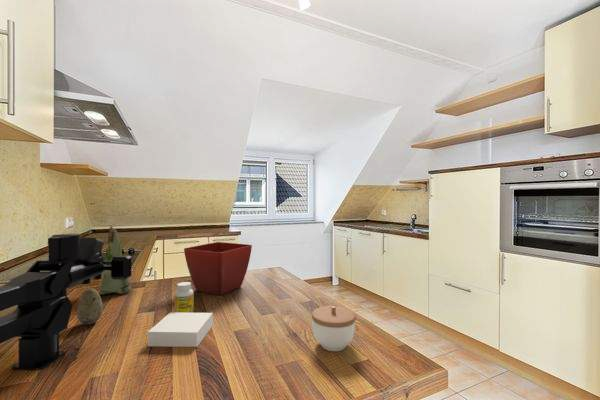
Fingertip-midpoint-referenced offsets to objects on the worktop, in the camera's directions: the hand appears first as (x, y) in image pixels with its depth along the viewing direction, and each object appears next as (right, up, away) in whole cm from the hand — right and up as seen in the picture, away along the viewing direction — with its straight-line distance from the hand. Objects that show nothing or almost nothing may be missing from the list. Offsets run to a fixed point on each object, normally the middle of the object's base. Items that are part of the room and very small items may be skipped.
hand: (115, 260), depth 89 cm
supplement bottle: (+21, -17, 0) cm, 27 cm away
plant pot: (+24, -17, +26) cm, 40 cm away
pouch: (-14, -17, +21) cm, 30 cm away
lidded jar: (+65, -17, -17) cm, 69 cm away
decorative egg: (-3, -17, -6) cm, 18 cm away
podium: (+26, -17, -13) cm, 33 cm away
